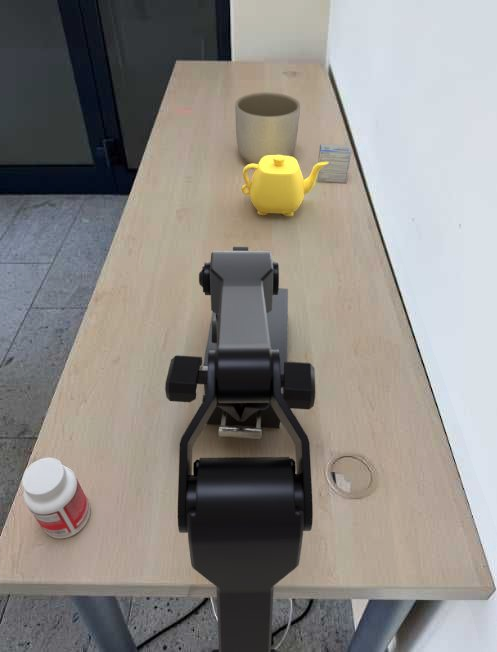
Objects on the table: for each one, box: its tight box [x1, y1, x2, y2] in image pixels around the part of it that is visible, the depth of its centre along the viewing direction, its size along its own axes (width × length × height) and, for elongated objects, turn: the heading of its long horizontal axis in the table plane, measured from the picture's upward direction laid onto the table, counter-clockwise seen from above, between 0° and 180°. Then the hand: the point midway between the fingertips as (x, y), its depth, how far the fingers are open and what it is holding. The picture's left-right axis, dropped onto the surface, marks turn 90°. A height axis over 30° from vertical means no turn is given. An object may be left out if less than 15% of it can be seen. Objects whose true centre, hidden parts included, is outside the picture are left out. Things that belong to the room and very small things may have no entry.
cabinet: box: [202, 287, 289, 397], centre depth 82 cm, size 20×13×8 cm, turn 176°
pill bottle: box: [21, 457, 91, 539], centre depth 60 cm, size 6×6×11 cm
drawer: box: [201, 394, 281, 440], centre depth 76 cm, size 23×11×6 cm, turn 176°
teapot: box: [241, 155, 329, 217], centre depth 115 cm, size 14×20×13 cm
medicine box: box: [316, 143, 352, 184], centre depth 127 cm, size 8×4×9 cm, turn 85°
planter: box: [234, 91, 301, 164], centre depth 132 cm, size 17×17×15 cm
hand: (241, 418), depth 68 cm, fingers closed
